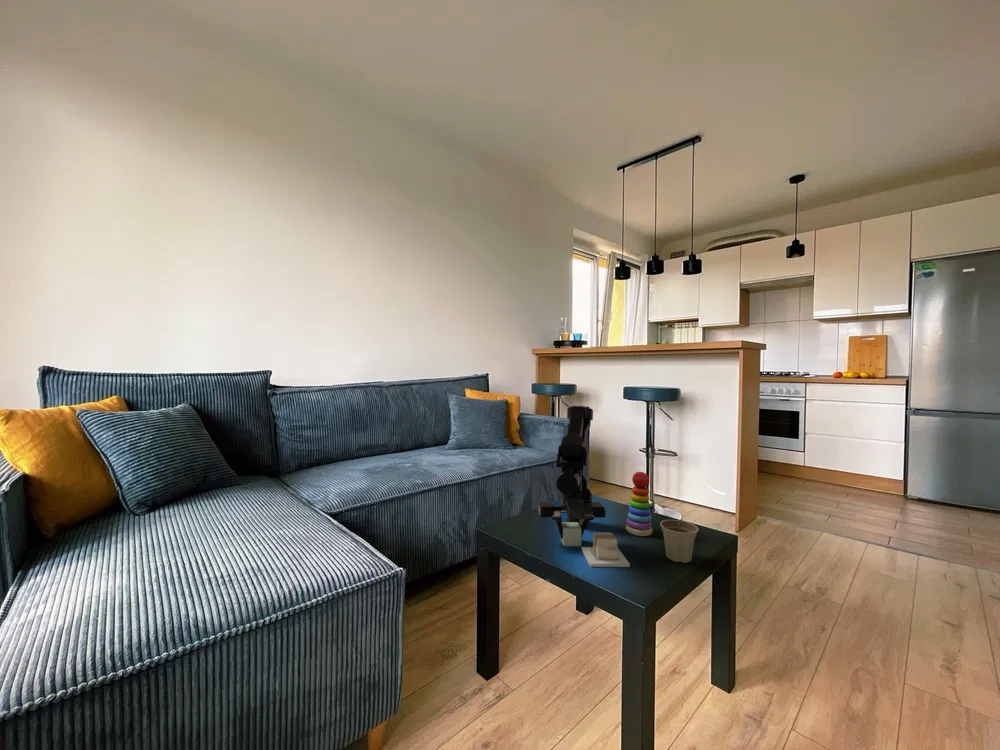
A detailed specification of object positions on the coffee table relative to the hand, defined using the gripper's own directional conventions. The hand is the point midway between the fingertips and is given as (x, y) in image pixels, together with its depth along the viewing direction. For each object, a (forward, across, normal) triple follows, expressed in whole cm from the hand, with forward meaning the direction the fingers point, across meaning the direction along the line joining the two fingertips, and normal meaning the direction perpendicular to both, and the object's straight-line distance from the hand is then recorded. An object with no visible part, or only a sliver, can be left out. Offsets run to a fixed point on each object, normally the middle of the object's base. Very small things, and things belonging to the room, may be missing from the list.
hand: (570, 538), depth 118 cm
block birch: (0, +7, -10) cm, 12 cm away
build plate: (+1, +7, -10) cm, 12 cm away
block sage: (+1, 0, 0) cm, 1 cm away
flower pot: (+1, +27, -10) cm, 29 cm away
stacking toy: (+1, +23, +8) cm, 24 cm away
